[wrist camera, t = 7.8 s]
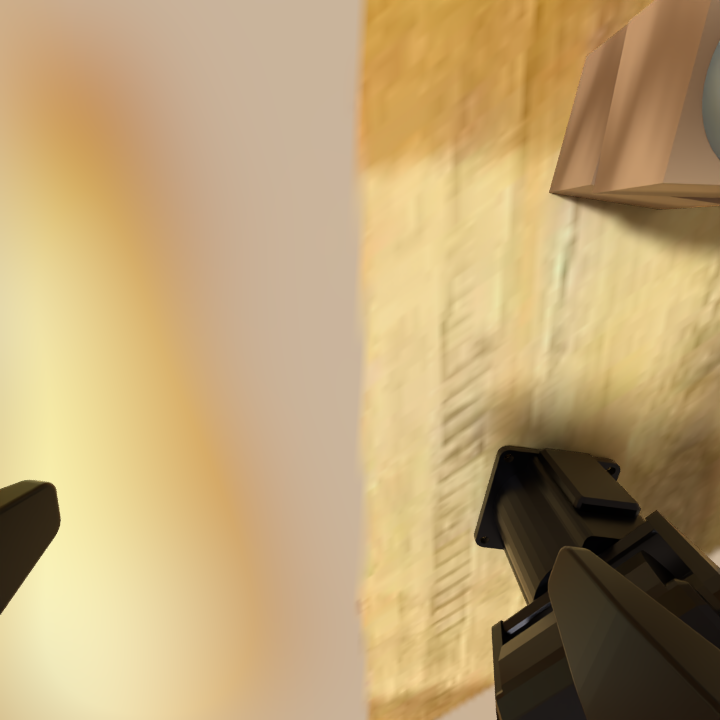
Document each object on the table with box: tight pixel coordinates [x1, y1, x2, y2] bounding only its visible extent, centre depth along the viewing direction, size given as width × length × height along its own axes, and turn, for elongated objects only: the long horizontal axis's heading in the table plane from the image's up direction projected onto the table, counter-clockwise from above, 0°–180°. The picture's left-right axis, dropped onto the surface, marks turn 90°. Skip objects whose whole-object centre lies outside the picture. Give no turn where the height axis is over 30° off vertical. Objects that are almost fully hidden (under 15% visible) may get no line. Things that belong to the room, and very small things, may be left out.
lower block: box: [549, 24, 720, 209], centre depth 15 cm, size 5×5×4 cm
